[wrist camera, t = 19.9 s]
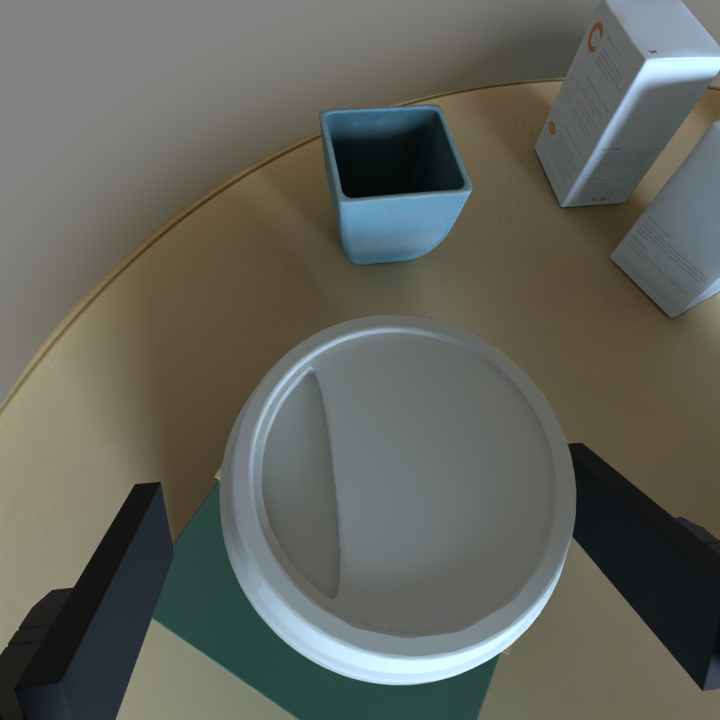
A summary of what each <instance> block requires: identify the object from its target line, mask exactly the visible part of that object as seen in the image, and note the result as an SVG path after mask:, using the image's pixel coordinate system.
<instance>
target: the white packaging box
mask: <svg viewBox="0 0 720 720" xmlns="http://www.w3.org/2000/svg"><path fill="white" fill-rule="evenodd" d="M610 259H611V260H612V261H613V262H615V263H616V264H617V265H618V266H619V267H620V268H621V269H622V270H623V271H624V272H625V273H626V274H627V275H628V276H629V277H630V278H631V279H632V280H633V281H634V282H635V283H636V284H637V285H638V286H639V287H640V288H641V289H642V290H643V291H644V292H645V293H646V294H647V295H648V296H649V297H650V298H651V299H652V300H653V301H654V302H655V303H656V304H657V305H658V306H659V307H660V308H661V309H662V310H663V311H664V312H665V313H666V314H667V315H668V316H669V317H670V318H674V317H676V316H678V315H679V314H681V313H683V312H684V311H686V310H688V309H690V308H691V307H693V306H695V305H696V304H698V303H700V302H702V301H703V300H705V299H707V298H709V297H710V296H712V295H714V294H716V293H717V292H719V291H720V120H718V121H715V122H712V123H711V124H710V126H709V127H708V129H707V130H706V132H705V133H704V134H703V136H702V137H701V139H700V140H699V141H698V143H697V144H696V145H695V147H694V148H693V149H692V151H691V152H690V153H689V155H688V156H687V157H686V158H685V160H684V161H683V162H682V164H681V165H680V166H679V167H678V169H677V170H676V171H675V173H674V174H673V175H672V176H671V178H670V179H669V180H668V181H667V183H666V184H665V185H664V187H663V188H662V189H661V190H660V192H659V193H658V194H657V195H656V197H655V198H654V199H653V201H652V202H651V203H650V205H649V206H648V207H647V208H646V210H645V211H644V212H643V213H642V215H641V216H640V217H639V219H638V220H637V221H636V223H635V224H634V225H633V226H632V228H631V229H630V230H629V232H628V233H627V234H626V236H625V237H624V239H623V240H622V241H621V242H620V244H619V245H618V246H617V248H616V249H615V250H614V252H613V253H612V254H611V256H610Z"/></svg>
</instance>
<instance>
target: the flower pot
mask: <svg viewBox="0 0 720 720" xmlns="http://www.w3.org/2000/svg"><path fill="white" fill-rule="evenodd" d="M319 116H320V125H321V134H322V143H323V151H324V160H325V168H326V174H327V179H328V183H329V188H330V192H331V197H332V201H333V206H334V211H335V216H336V221H337V226H338V231H339V236H340V242H341V246H342V249H343V251H344V253H345V255H346V256H347V258H348V259H349V260H350V261H351V262H353V263H354V264H356V265H367V264H376V263H384V262H395V261H406V260H412V259H415V258H418V257H420V256H422V255H424V254H426V253H428V252H430V251H431V250H433V249H434V248H435V247H436V246H438V245H439V244H440V243H441V242H442V241H443V240H444V238H445V237H446V236H447V234H448V233H449V231H450V230H451V228H452V226H453V224H454V223H455V221H456V219H457V217H458V215H459V213H460V212H461V210H462V208H463V206H464V204H465V202H466V200H467V198H468V197H469V195H470V193H471V191H472V184H471V181H470V179H469V177H468V174H467V172H466V170H465V167H464V165H463V162H462V159H461V157H460V154H459V152H458V149H457V147H456V144H455V141H454V139H453V137H452V134H451V131H450V128H449V126H448V123H447V121H446V118H445V115H444V112H443V111H442V109H441V108H440V106H438V105H411V106H398V107H382V108H360V109H358V108H356V109H338V110H327V111H323V112H320V114H319Z"/></svg>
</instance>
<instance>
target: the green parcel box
mask: <svg viewBox="0 0 720 720" xmlns="http://www.w3.org/2000/svg"><path fill="white" fill-rule="evenodd" d="M221 469H222V466H221V467H220V469H219V470H218V471H217V473H216V474H215V478H217V479H218V482H217V483H216V485H215V486H214V488H213V489H212V490H211V492H210V493H209V495H208V496H207V497H206V499H205V500H204V502H203V503H202V505H201V506H200V507H199V509H198V510H197V512H196V513H195V515H194V516H193V517H192V519H191V520H190V522H189V523H188V524H187V526H186V527H185V529H184V530H183V532H182V533H181V534H180V536H179V537H178V539H177V540H176V541H175V543H174V544H173V551H174V557H173V560H172V563H171V566H170V569H169V571H168V574H167V577H166V580H165V583H164V585H163V588H162V591H161V594H160V597H159V599H158V602H157V605H156V608H155V611H154V613H153V616H152V618H153V619H154V620H156V621H157V622H158V623H160V624H161V625H163V626H164V627H166V628H167V629H169V630H170V631H171V632H173V633H174V634H176V635H177V636H179V637H180V638H181V639H183V640H184V641H186V642H187V643H189V644H190V645H192V646H193V647H194V648H196V649H197V650H199V651H200V652H202V653H203V654H205V655H206V656H207V657H209V658H210V659H212V660H213V661H215V662H216V663H218V664H219V665H220V666H222V667H223V668H225V669H226V670H228V671H229V672H231V673H232V674H233V675H235V676H236V677H238V678H239V679H241V680H242V681H244V682H245V683H246V684H248V685H249V686H251V687H252V688H254V689H255V690H257V691H258V692H259V693H261V694H262V695H264V696H265V697H267V698H268V699H270V700H271V701H272V702H274V703H275V704H277V705H278V706H280V707H281V708H282V709H284V710H285V711H287V712H288V713H290V714H291V715H293V716H294V717H295V718H297V719H298V720H477V719H478V716H479V713H480V710H481V708H482V705H483V702H484V699H485V696H486V693H487V690H488V687H489V685H490V682H491V679H492V676H493V673H494V670H495V667H496V664H497V662H498V659H499V656H500V653H501V652H500V653H499V654H497V655H496V656H494V657H493V658H491V659H489V660H488V661H486V662H484V663H482V664H480V665H478V666H476V667H474V668H472V669H470V670H468V671H466V672H463V673H461V674H458V675H455V676H453V677H450V678H446V679H443V680H438V681H434V682H429V683H423V684H414V685H386V684H377V683H371V682H365V681H361V680H357V679H353V678H350V677H347V676H344V675H341V674H338V673H336V672H333V671H331V670H329V669H326V668H324V667H322V666H320V665H318V664H316V663H315V662H313V661H311V660H310V659H308V658H306V657H305V656H303V655H302V654H300V653H299V652H297V651H296V650H295V649H293V648H292V647H291V646H290V645H288V644H287V643H286V642H285V641H284V640H282V639H281V638H280V637H279V636H278V635H277V634H276V633H275V632H274V631H273V630H272V629H271V628H270V627H269V626H268V625H267V623H266V622H265V621H264V620H263V619H262V618H261V616H260V615H259V614H258V612H257V611H256V610H255V608H254V607H253V606H252V604H251V603H250V601H249V599H248V598H247V596H246V594H245V593H244V591H243V589H242V587H241V585H240V583H239V581H238V579H237V577H236V575H235V573H234V570H233V568H232V565H231V562H230V559H229V556H228V553H227V550H226V546H225V542H224V537H223V531H222V525H221V516H220V499H219V489H220V477H221ZM510 647H511V645H510V646H508V647H507V648H506V649H505V650H503V651H502V653H504V654H507V655H508V653H509V650H510Z"/></svg>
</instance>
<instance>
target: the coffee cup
mask: <svg viewBox="0 0 720 720" xmlns="http://www.w3.org/2000/svg"><path fill="white" fill-rule="evenodd" d="M219 499H220V516H221V525H222V531H223V537H224V542H225V546H226V550H227V553H228V556H229V559H230V562H231V565H232V568H233V570H234V573H235V575H236V577H237V579H238V581H239V583H240V585H241V587H242V589H243V591H244V593H245V594H246V596H247V598H248V599H249V601H250V603H251V604H252V606H253V607H254V608H255V610H256V611H257V612H258V614H259V615H260V616H261V618H262V619H263V620H264V621H265V622H266V623H267V625H268V626H269V627H270V628H271V629H272V630H273V631H274V632H275V633H276V634H277V635H278V636H279V637H280V638H281V639H282V640H284V641H285V642H286V643H287V644H288V645H290V646H291V647H292V648H293V649H295V650H296V651H297V652H299V653H300V654H302V655H303V656H305V657H306V658H308V659H310V660H311V661H313V662H315V663H316V664H318V665H320V666H322V667H324V668H326V669H329V670H331V671H333V672H336V673H338V674H341V675H344V676H347V677H350V678H353V679H357V680H361V681H365V682H371V683H377V684H386V685H414V684H423V683H429V682H434V681H438V680H443V679H446V678H450V677H453V676H455V675H458V674H461V673H463V672H466V671H468V670H470V669H472V668H474V667H476V666H478V665H480V664H482V663H484V662H486V661H488V660H489V659H491V658H493V657H494V656H496V655H497V654H499V653H500V652H502V651H503V650H505V649H506V648H507V647H508V646H510V645H511V644H512V643H513V642H514V641H515V640H516V639H517V638H519V637H520V636H521V635H522V634H523V633H524V632H525V631H526V630H527V628H528V627H529V626H530V625H531V624H532V623H533V622H534V620H535V619H536V618H537V616H538V615H539V614H540V612H541V611H542V609H543V608H544V606H545V604H546V603H547V601H548V599H549V598H550V596H551V594H552V592H553V590H554V588H555V586H556V584H557V582H558V579H559V577H560V574H561V571H562V568H563V566H564V562H565V559H566V555H567V552H568V549H569V546H570V542H571V538H572V534H573V528H574V522H575V515H576V484H575V473H574V468H573V463H572V458H571V454H570V451H569V447H568V444H567V441H566V438H565V435H564V432H563V430H562V428H561V426H560V423H559V421H558V419H557V417H556V415H555V413H554V411H553V410H552V408H551V406H550V404H549V403H548V401H547V400H546V398H545V397H544V395H543V394H542V392H541V391H540V390H539V388H538V387H537V386H536V384H535V383H534V382H533V381H532V380H531V378H530V377H529V376H528V375H527V374H526V373H525V372H524V371H523V370H522V369H521V368H520V367H519V366H518V365H517V364H516V363H515V362H514V361H513V360H511V359H510V358H509V357H508V356H507V355H505V354H504V353H503V352H501V351H500V350H499V349H497V348H496V347H495V346H493V345H492V344H490V343H488V342H487V341H485V340H483V339H482V338H480V337H478V336H476V335H474V334H472V333H470V332H468V331H466V330H464V329H462V328H459V327H456V326H453V325H451V324H448V323H445V322H442V321H437V320H433V319H429V318H424V317H417V316H409V315H377V316H368V317H362V318H358V319H353V320H348V321H345V322H342V323H339V324H336V325H333V326H331V327H329V328H326V329H324V330H322V331H320V332H318V333H316V334H314V335H312V336H310V337H309V338H307V339H305V340H304V341H302V342H301V343H299V344H298V345H296V346H295V347H294V348H292V349H291V350H290V351H289V352H288V353H286V354H285V355H284V356H283V357H282V358H281V359H280V360H279V361H278V362H277V363H276V364H275V365H274V366H273V367H272V368H271V369H270V370H269V371H268V372H267V374H266V375H265V376H264V378H263V379H262V380H261V381H260V383H259V384H258V386H257V387H256V388H255V390H254V391H253V392H252V394H251V395H250V397H249V398H248V400H247V401H246V403H245V404H244V406H243V408H242V410H241V412H240V413H239V415H238V417H237V419H236V421H235V423H234V426H233V428H232V431H231V433H230V436H229V439H228V442H227V445H226V449H225V453H224V457H223V463H222V469H221V477H220V489H219Z"/></svg>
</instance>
